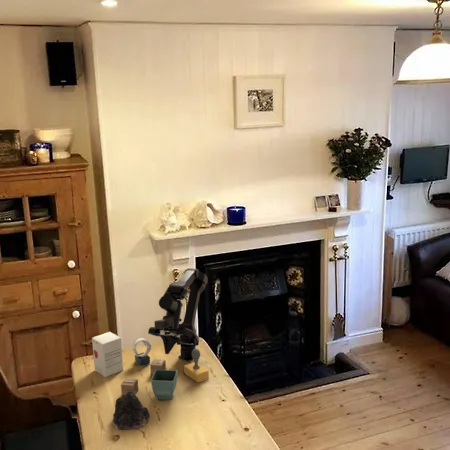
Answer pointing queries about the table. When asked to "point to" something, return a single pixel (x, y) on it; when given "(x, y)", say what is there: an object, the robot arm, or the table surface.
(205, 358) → the table surface
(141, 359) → the watch
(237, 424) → the table surface
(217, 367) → the table surface
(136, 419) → the crystal cluster
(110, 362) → the supplement box
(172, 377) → the flower pot
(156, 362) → the numbered block seven
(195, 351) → the rubber stamp
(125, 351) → the table surface
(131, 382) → the numbered block one
